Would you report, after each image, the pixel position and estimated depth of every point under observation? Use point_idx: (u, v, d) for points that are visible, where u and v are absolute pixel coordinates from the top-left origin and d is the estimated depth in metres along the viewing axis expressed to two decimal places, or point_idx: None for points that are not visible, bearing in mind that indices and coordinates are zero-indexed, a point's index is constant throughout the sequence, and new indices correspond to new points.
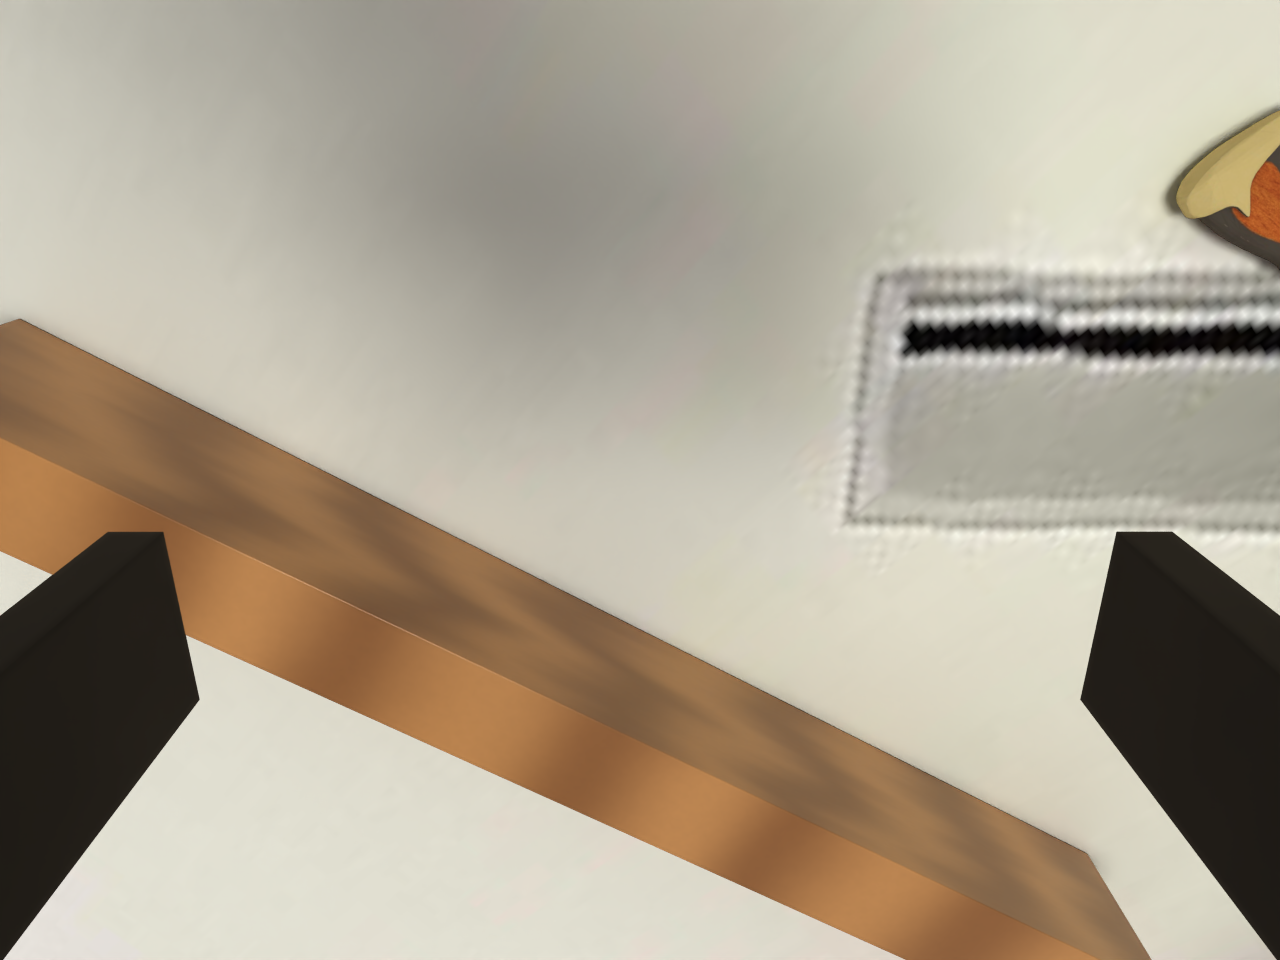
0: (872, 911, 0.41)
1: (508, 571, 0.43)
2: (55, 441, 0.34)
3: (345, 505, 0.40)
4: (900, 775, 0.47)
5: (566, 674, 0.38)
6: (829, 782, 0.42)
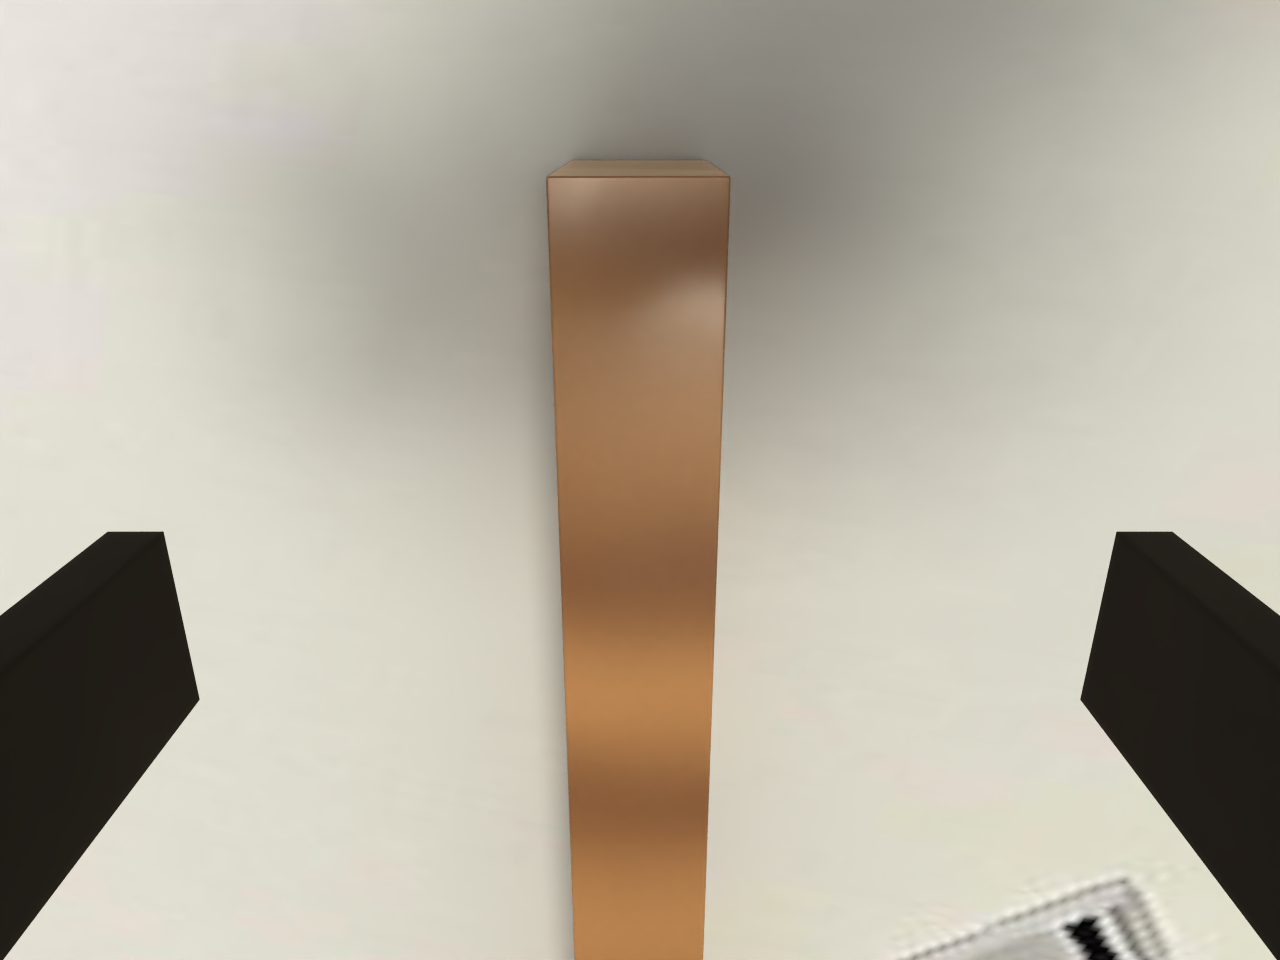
0: None
1: None
2: None
3: None
4: None
5: None
6: None
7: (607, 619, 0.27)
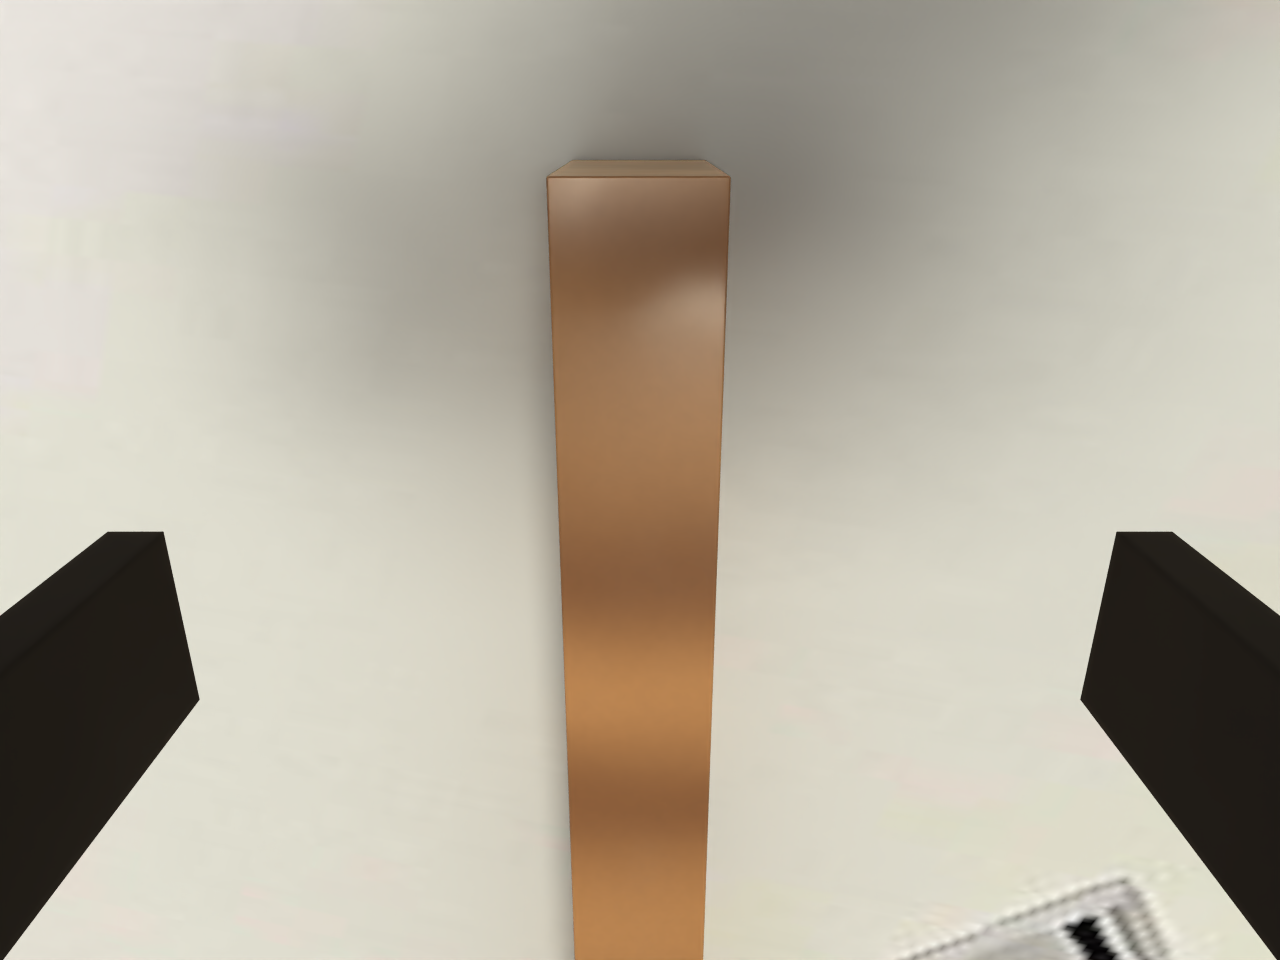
0: None
1: None
2: None
3: None
4: None
5: None
6: None
7: (607, 619, 0.27)
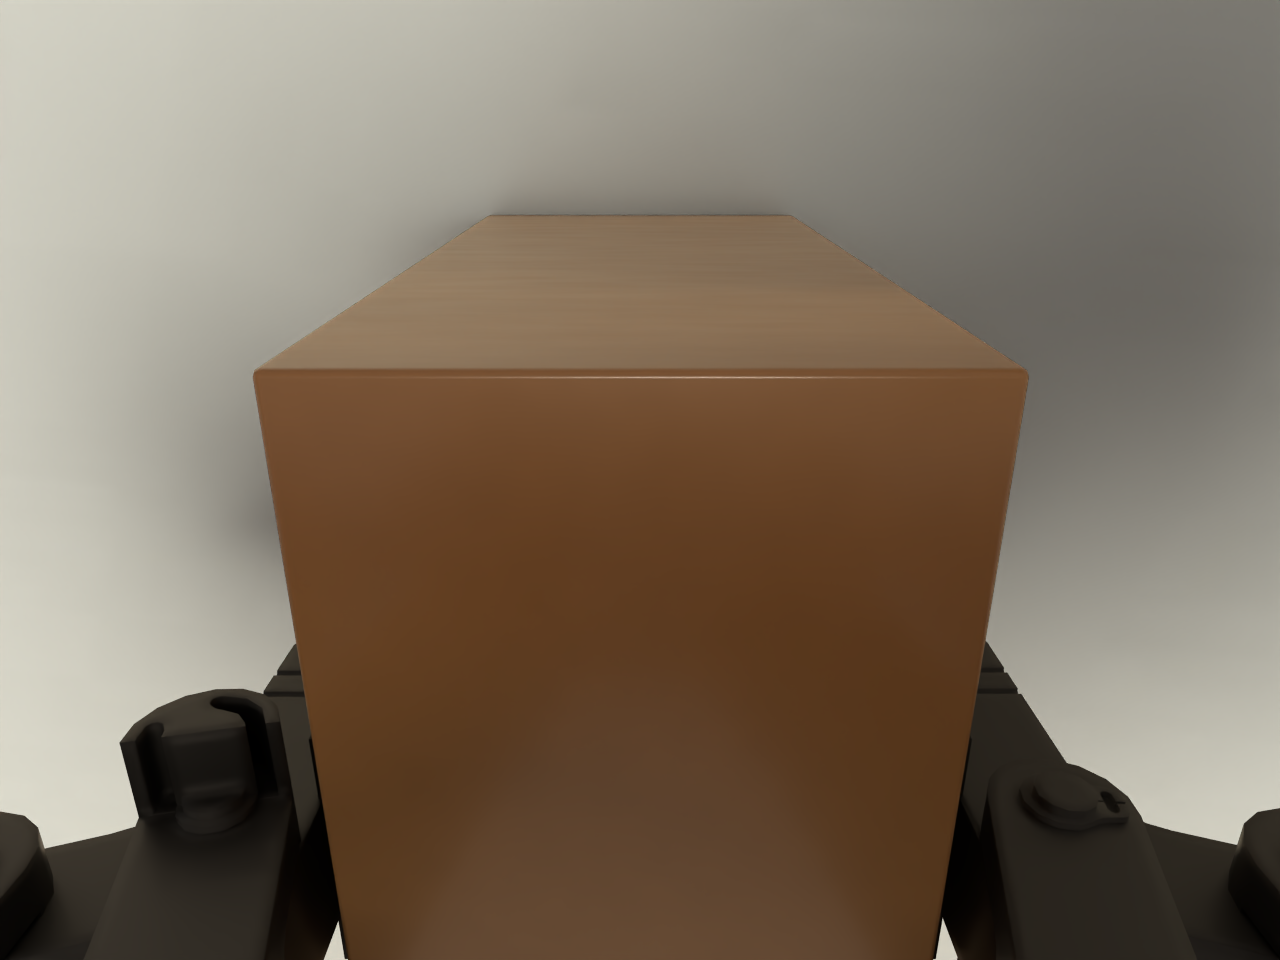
0: None
1: None
2: None
3: None
4: None
5: None
6: None
7: None
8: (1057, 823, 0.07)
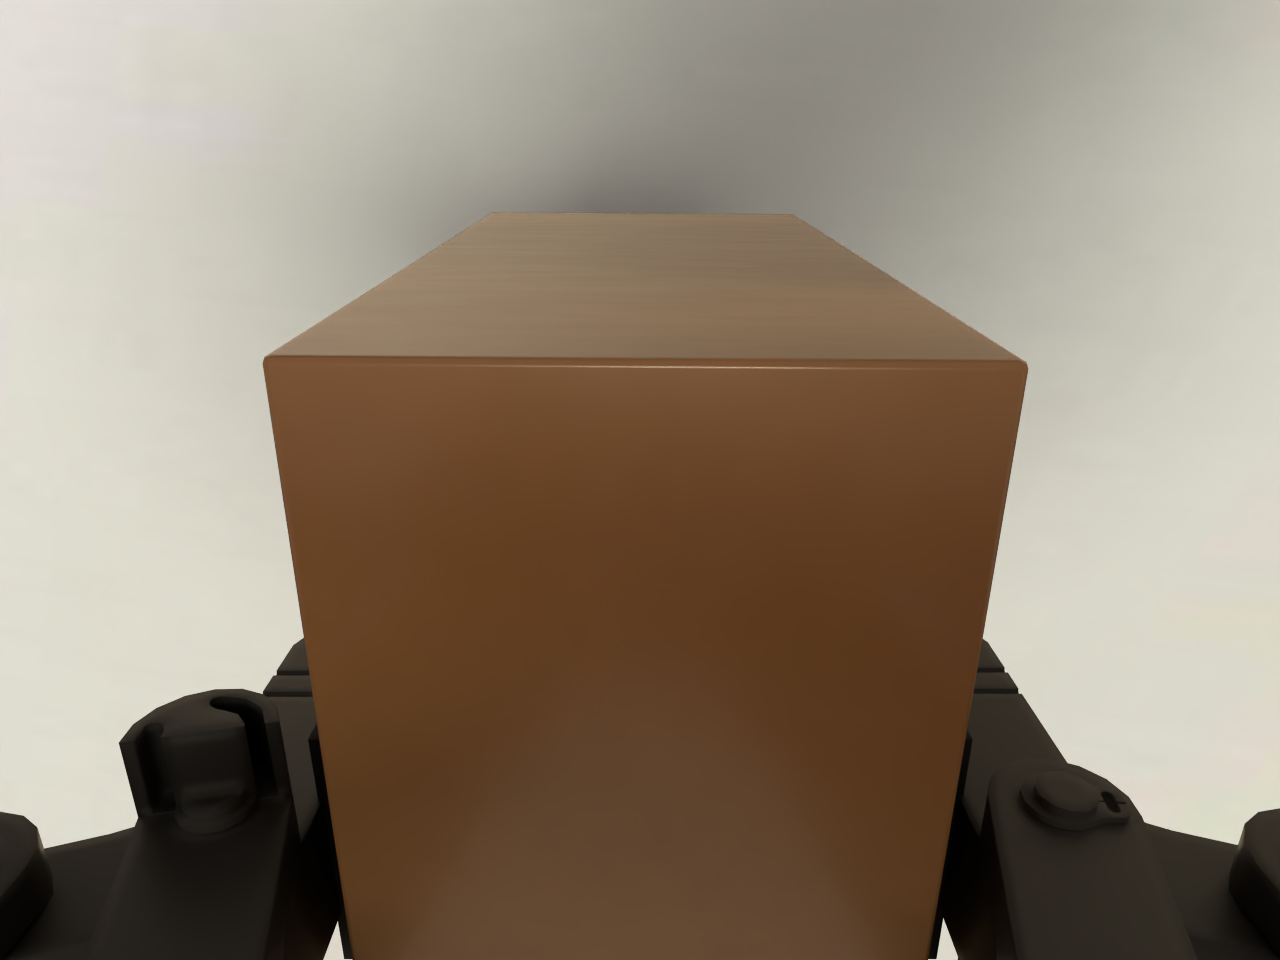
0: None
1: None
2: None
3: None
4: None
5: None
6: None
7: None
8: (1058, 824, 0.07)
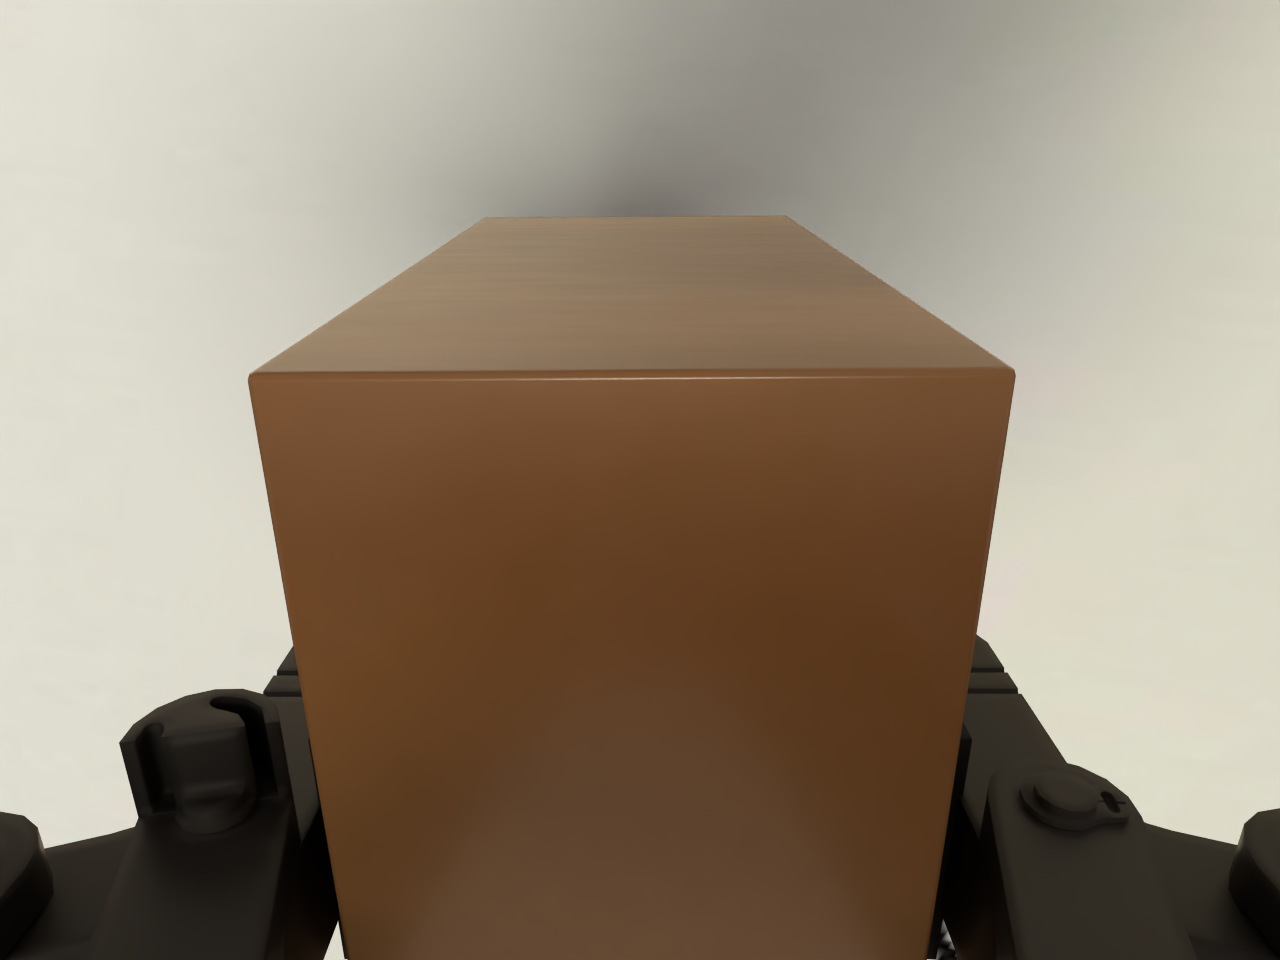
0: None
1: None
2: None
3: None
4: None
5: None
6: None
7: None
8: (1058, 823, 0.07)
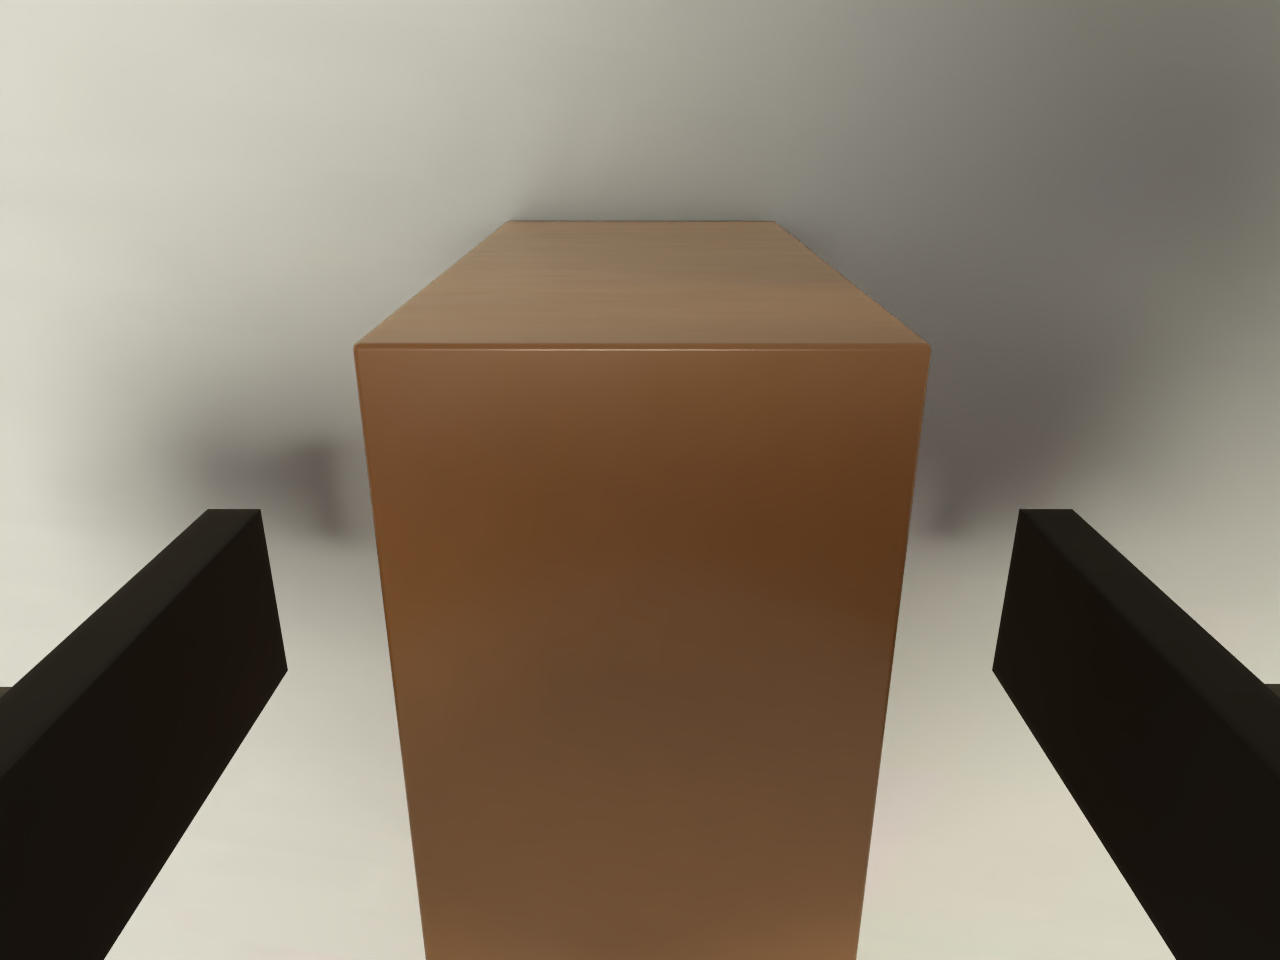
0: None
1: None
2: None
3: None
4: None
5: None
6: None
7: None
8: None
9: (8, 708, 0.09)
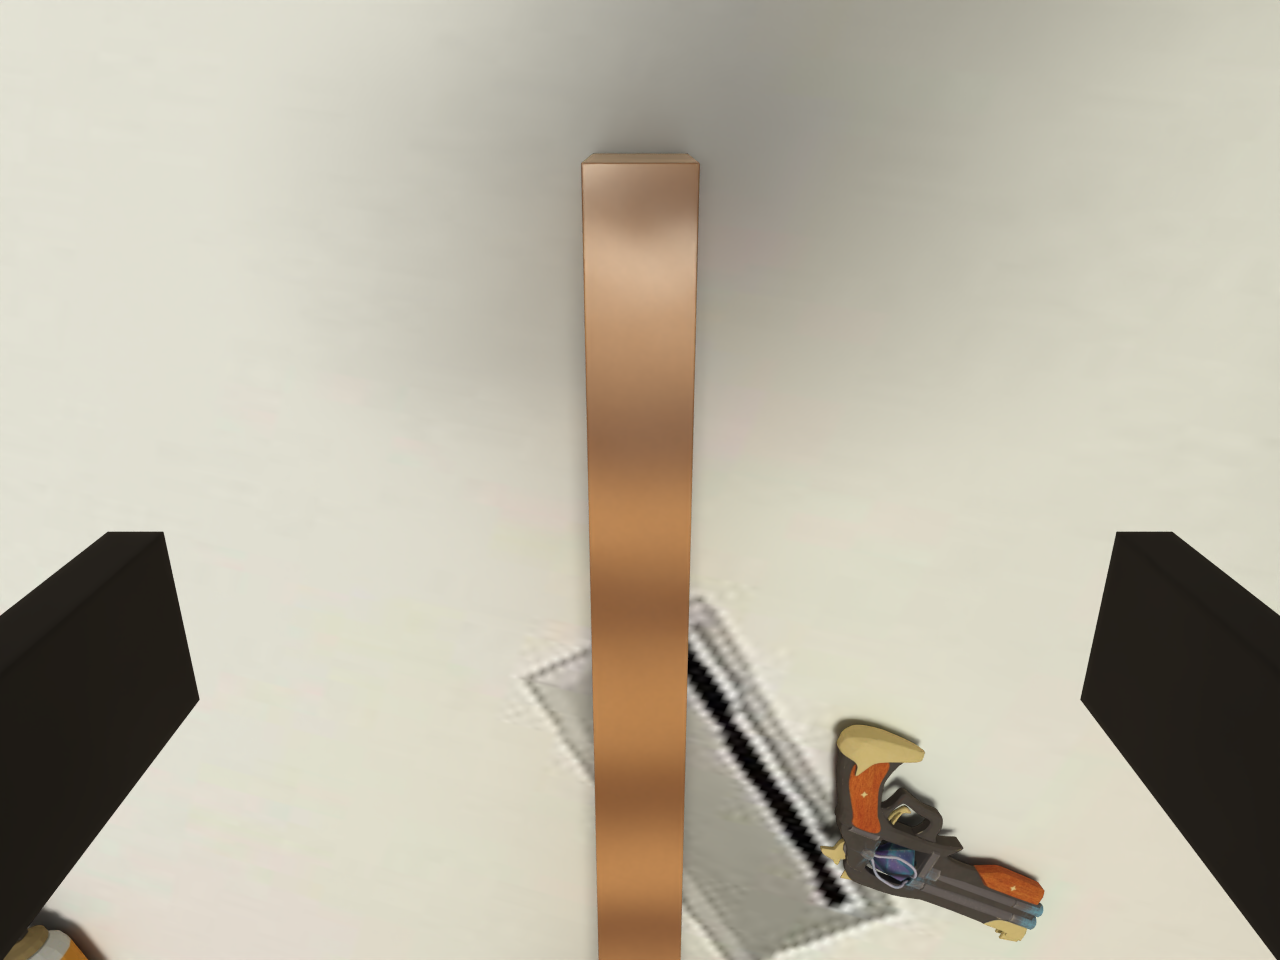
0: None
1: None
2: None
3: None
4: None
5: None
6: None
7: (618, 467, 0.39)
8: None
9: None
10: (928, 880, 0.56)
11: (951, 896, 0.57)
